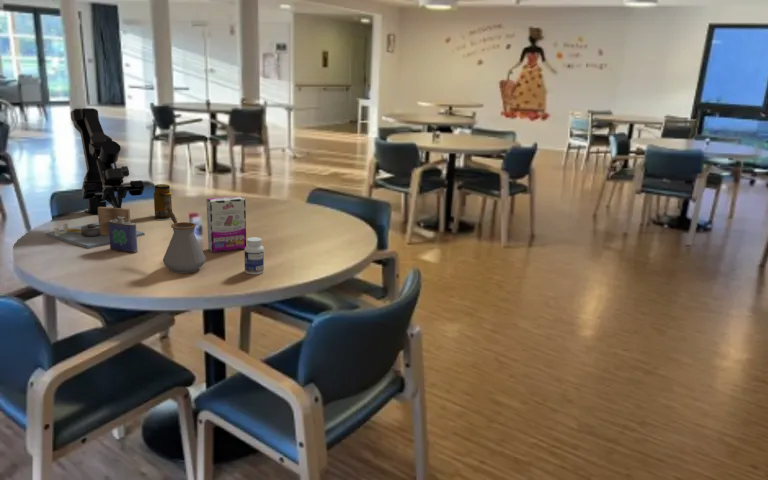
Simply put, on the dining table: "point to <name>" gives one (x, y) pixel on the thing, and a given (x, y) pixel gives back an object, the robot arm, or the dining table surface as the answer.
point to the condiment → (162, 202)
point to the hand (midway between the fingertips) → (119, 211)
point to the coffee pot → (183, 248)
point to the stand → (82, 237)
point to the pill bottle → (254, 256)
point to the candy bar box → (226, 223)
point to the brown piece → (103, 221)
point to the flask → (123, 236)
